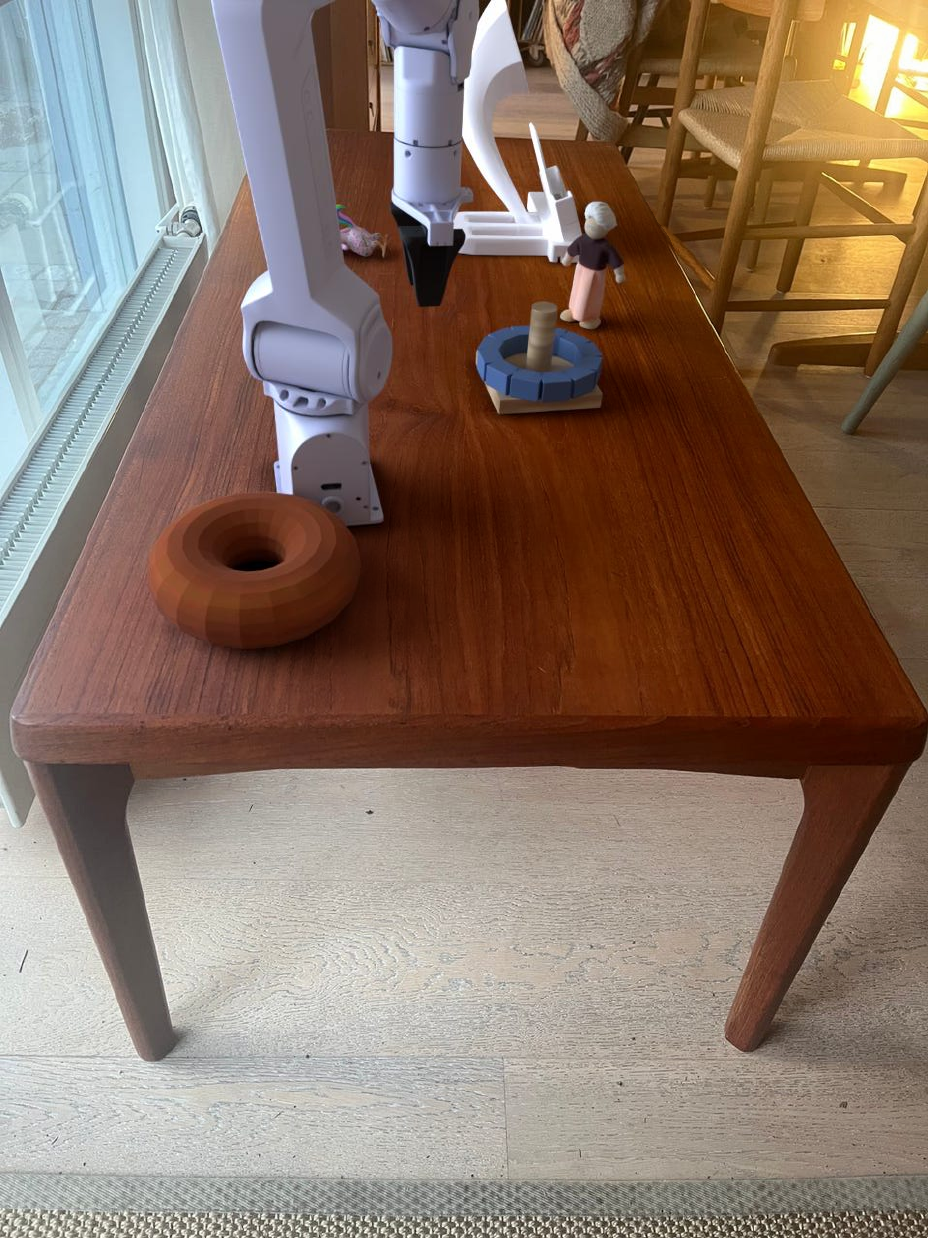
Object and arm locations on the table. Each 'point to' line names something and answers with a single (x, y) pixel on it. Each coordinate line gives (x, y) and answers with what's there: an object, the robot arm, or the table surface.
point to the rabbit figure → (358, 237)
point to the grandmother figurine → (592, 266)
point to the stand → (541, 367)
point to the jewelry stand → (550, 210)
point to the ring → (537, 383)
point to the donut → (256, 600)
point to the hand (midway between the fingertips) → (424, 294)
